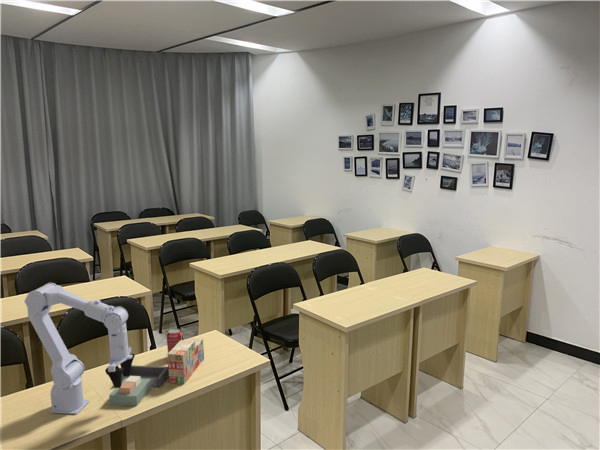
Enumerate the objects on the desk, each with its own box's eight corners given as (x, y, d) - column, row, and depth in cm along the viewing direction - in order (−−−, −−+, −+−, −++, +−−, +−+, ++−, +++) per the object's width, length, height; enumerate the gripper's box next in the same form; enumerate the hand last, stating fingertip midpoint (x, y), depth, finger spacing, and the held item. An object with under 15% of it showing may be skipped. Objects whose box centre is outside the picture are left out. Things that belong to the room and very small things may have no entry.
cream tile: (125, 386, 165) (124, 381, 165) (130, 380, 169) (130, 375, 169) (136, 386, 165) (135, 381, 164) (140, 381, 169) (140, 376, 168)
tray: (118, 385, 173) (118, 377, 172) (130, 373, 182) (129, 365, 181) (159, 387, 171) (159, 378, 171) (169, 374, 180) (168, 366, 180)
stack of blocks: (190, 358, 195) (188, 330, 193) (204, 359, 194) (203, 331, 192) (168, 383, 174) (167, 353, 172) (184, 384, 173) (182, 354, 171)
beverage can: (176, 352, 200) (175, 326, 198) (186, 356, 196) (184, 330, 194) (165, 358, 195) (163, 331, 193) (174, 362, 191) (172, 335, 189)
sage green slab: (109, 404, 160) (109, 395, 160) (125, 386, 172) (125, 377, 171) (137, 405, 159) (136, 396, 159) (151, 387, 171) (150, 378, 170)
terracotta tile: (119, 393, 161) (118, 387, 160) (124, 387, 165) (124, 382, 164) (130, 393, 160) (129, 388, 160) (135, 387, 164) (135, 382, 164)
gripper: (121, 353, 146) (125, 392, 148) (138, 334, 160) (141, 370, 163) (100, 353, 146) (104, 392, 149) (118, 335, 161) (122, 371, 163)
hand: (122, 381), depth 156 cm, fingers open, 7 cm apart
